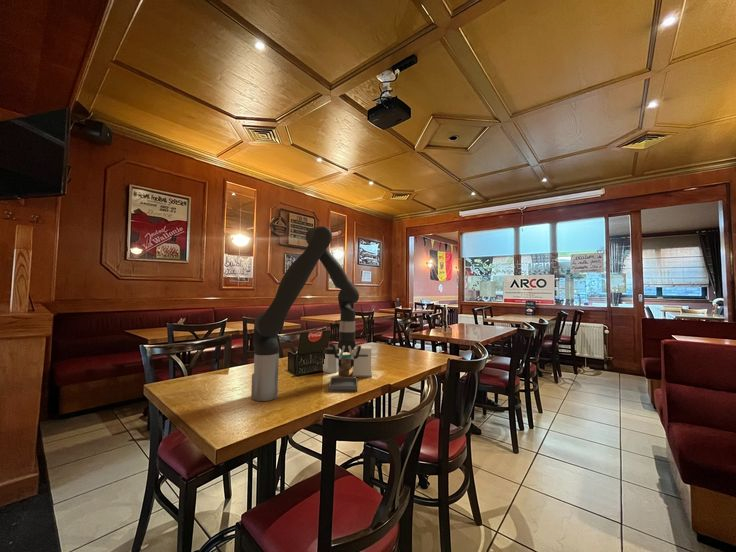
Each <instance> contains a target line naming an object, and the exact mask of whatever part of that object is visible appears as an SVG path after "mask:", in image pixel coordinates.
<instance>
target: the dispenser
mask: <svg viewBox="0 0 736 552" xmlns="http://www.w3.org/2000/svg"><path fill="white" fill-rule="evenodd" d="M360 346H361V349H360V352H359V355H358V358H357V359H354V366H353V367H352V371H351V378H352V377H360V378H361V377H372V378H373V374H372V373H373V372H372V346H371V345H360ZM352 351H353V355H354V356H355V355H356V352H357V349H356V347H355V348H354V349H353V350H352ZM361 379H362V378H361Z"/></svg>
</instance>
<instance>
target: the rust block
mask: <svg viewBox="0 0 736 552" xmlns="http://www.w3.org/2000/svg"><path fill="white" fill-rule="evenodd" d="M338 376H339V378H350V370H341V368H340V366H339V371H338Z"/></svg>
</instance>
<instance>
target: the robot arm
mask: <svg viewBox="0 0 736 552" xmlns="http://www.w3.org/2000/svg"><path fill="white" fill-rule="evenodd" d="M332 239H333V234H332V231H331V229H330V228H329V227H327V226H323V225H322V226H316V227H314V226H313V227H311V228H309V229H307V231H306V233H305V242H306V244H307V247H305V250H304V251H303V252H301V254H300V255H299V256H298V257H297V258H296V259H295V260H294V261H293V262H292V263H291V264H290V265H289V267H288V268H287V269H286V271H285V273H284V275H283V276H282V278H281V280H280V282H279V285H278V288H277V291H276V295H275V297H273V298H274V299H273V301H272V302H271V303H270V305H269V307H268V308H267V309H266V310H265V311H264V312H261V313H259V314H258V315H257V316H256V318H255V320H254V324H253V347H254V353H253V355H254V356H253V357H254V359H253V373H251V389H250V390H251V396H250V399H251V401H256V402H267V401H273V400H275V399H277V398H278V397H279V396H278V395H279V370H280V369H279V366H280V363H279V362H280V359H279V358H280V345H279V340H278V333H279V332H280V330H281V328H282V326H283V324H284V322H285V321H286V318H287V316H288V314H289V312H290V310H291V308H292V306H293V304H294V303H295V301H296V300H297V298H298V297H299V295H300V293H301V291H302V290H303V289H304V287H305V285H306V284H307V281H308V279H309V277H310V276H311V275H312V272H313V271H314V269H315V267H316V265H317V263H318V261H320V262H321V264H322V265H323V267H324V269H325V270H326V272H327V273H328V276H329V277H330V279H331V281H332V283H333V285H334V287H335V288H336V289H339V292H338V294H337V301H338V307H339V311H340V317H339V318H340V319H339V321H340V322H339V328H338V329H339V332H338V333H339V334H338V343H337V344H333V345H332V346H331V347H332V348H333V352H334V356H335V358H338V359H339V362H338V365H339V366H340V368H341V356H342V355H344V354H345V353H348V354H349V355H351V369H353V366H354V359H357V358H358V355H359V352H360V349H361V346H362V345H361V344H360V345H359V344H356V310H355V308H352V307H351V304H355V303H358V302H359V299H360V294H359V293H360V292H359V291H358V289H357V287H356V286H355V285H354V283H352V281H350V279H349V278H348V276H347V274H346V271H345V270H344V268H343V266H342V264H341V263H339V262H338V261H337V259H336V258H335V257H334V255H333V254H332V253H331V252H330V250H329V248H328V247H329V246H330V244H331V242H332ZM337 347H339V348H340V352H339V353H340V355H338V354H337V350H336V349H337ZM355 347H356V349H357V352H356V355H355V356H354V355H353V349H354V348H355Z"/></svg>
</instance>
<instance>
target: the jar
mask: <svg viewBox="0 0 736 552" xmlns="http://www.w3.org/2000/svg"><path fill="white" fill-rule="evenodd" d="M327 347H328V348H325V347H324V348H325V359H324V364H323V363H322V371H323V372H324V373H326V374H332V373H333V374H335V373H339V365H338V362H339V359H338V358H335V356H334V352H333V348H332V346H327ZM336 350H337V354H338V355H340V352H341V350H340V348H339V347H337V349H336Z"/></svg>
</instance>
